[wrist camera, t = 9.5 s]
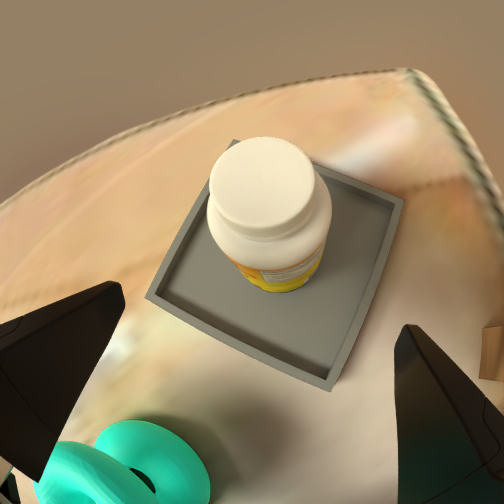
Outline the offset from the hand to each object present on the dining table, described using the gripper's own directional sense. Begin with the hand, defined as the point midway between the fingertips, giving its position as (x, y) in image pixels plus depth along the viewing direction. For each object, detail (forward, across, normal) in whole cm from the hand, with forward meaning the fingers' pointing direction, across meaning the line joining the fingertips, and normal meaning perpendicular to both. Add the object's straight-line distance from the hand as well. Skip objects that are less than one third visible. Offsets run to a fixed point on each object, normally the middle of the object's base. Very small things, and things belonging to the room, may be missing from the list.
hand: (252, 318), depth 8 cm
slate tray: (+12, 0, +4) cm, 13 cm away
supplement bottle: (+11, 0, +4) cm, 12 cm away
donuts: (-1, +7, +18) cm, 20 cm away
